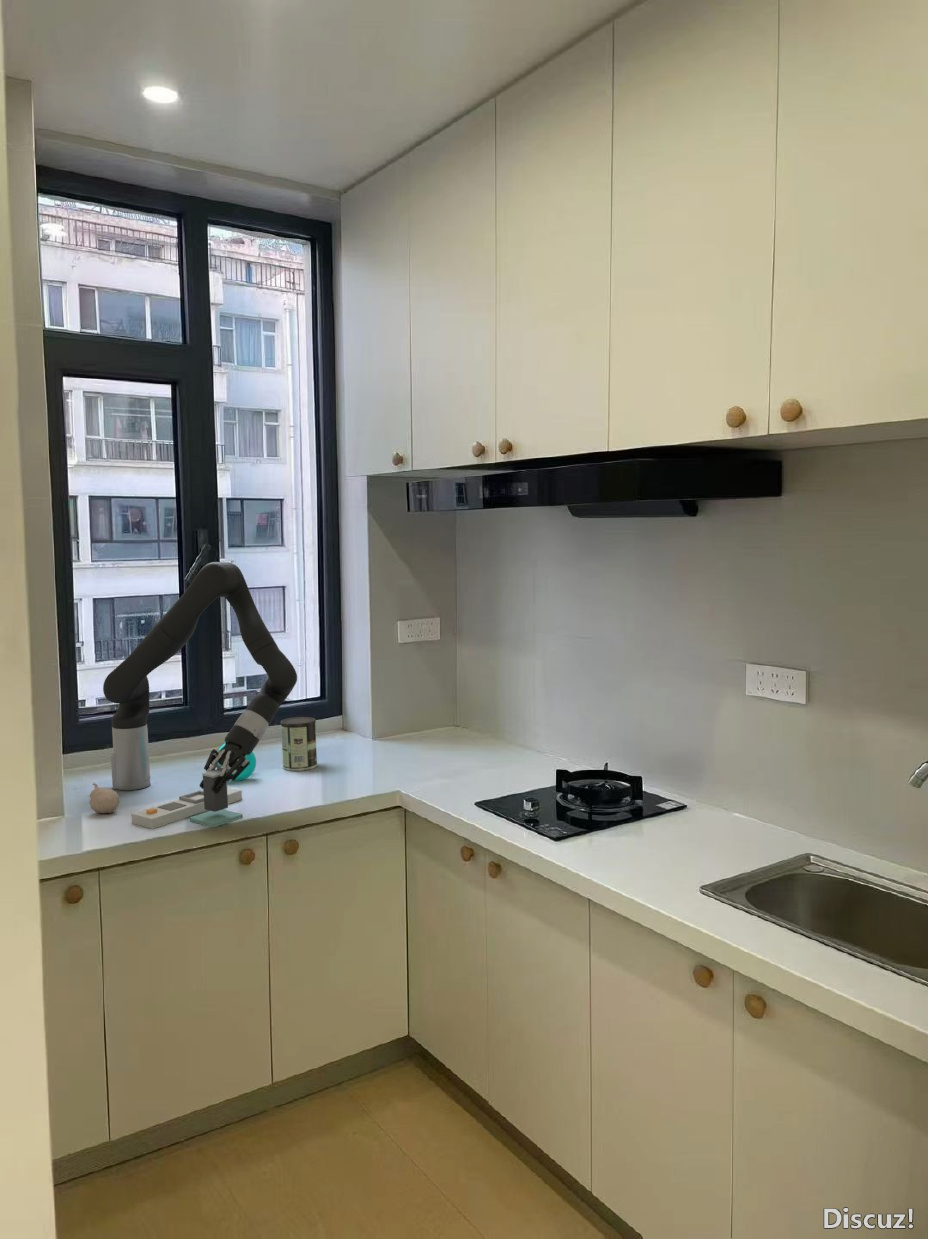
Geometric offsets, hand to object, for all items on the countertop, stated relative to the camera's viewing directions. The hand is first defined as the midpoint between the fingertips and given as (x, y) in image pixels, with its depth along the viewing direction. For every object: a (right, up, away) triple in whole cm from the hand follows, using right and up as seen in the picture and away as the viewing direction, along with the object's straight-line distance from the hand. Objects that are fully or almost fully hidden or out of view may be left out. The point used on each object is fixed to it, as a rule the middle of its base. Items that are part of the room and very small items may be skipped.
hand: (208, 789), depth 230 cm
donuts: (-3, -4, +40) cm, 40 cm away
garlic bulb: (-28, -8, +9) cm, 31 cm away
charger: (+1, -5, +2) cm, 5 cm away
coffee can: (+14, -3, +51) cm, 53 cm away
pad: (+1, -8, +2) cm, 8 cm away
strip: (-7, -7, +9) cm, 14 cm away
